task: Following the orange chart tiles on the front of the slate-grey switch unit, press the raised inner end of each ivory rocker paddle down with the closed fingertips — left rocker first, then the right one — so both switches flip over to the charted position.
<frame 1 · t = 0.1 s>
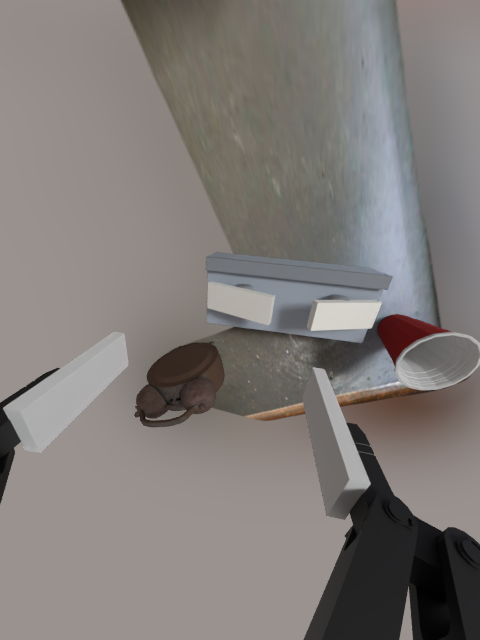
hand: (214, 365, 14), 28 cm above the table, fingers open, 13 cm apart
plastic cup: (392, 328, 40), on the table
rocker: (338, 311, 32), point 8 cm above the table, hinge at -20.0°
switch unit: (285, 291, 40), on the table
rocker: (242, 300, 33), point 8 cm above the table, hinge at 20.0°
alarm clock: (200, 351, 48), on the table
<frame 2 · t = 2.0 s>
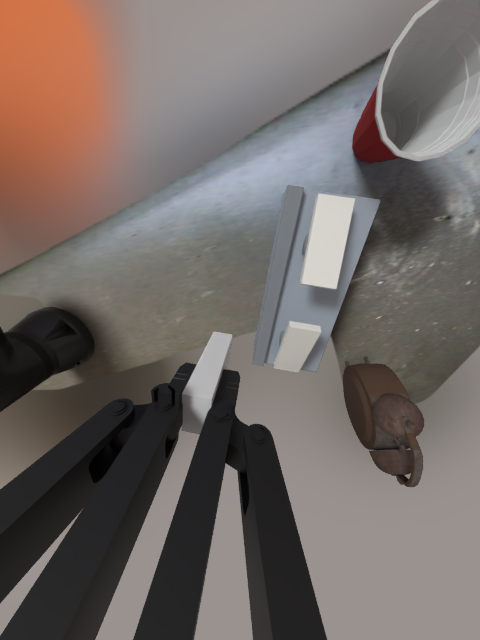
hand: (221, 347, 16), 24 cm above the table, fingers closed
plastic cup: (375, 137, 28), on the table
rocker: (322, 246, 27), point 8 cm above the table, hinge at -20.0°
switch unit: (298, 286, 37), on the table
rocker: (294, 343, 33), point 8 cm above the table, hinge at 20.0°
alarm clock: (356, 373, 44), on the table
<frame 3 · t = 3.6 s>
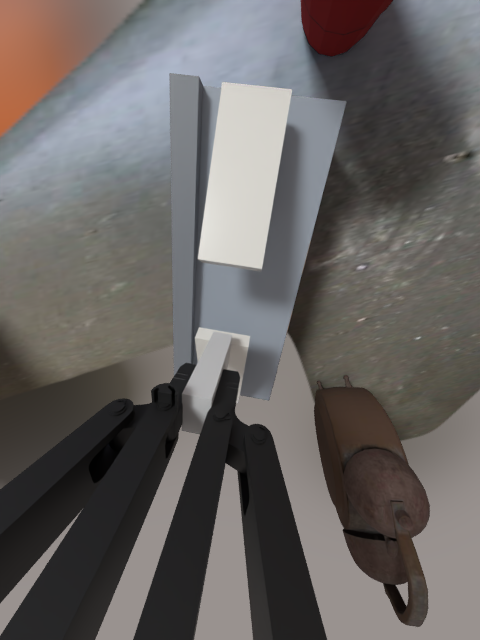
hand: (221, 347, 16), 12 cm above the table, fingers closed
plastic cup: (341, 6, 16), on the table
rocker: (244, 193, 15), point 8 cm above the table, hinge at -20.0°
switch unit: (242, 273, 25), on the table
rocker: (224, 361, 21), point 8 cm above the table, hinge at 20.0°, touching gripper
alarm clock: (334, 396, 32), on the table
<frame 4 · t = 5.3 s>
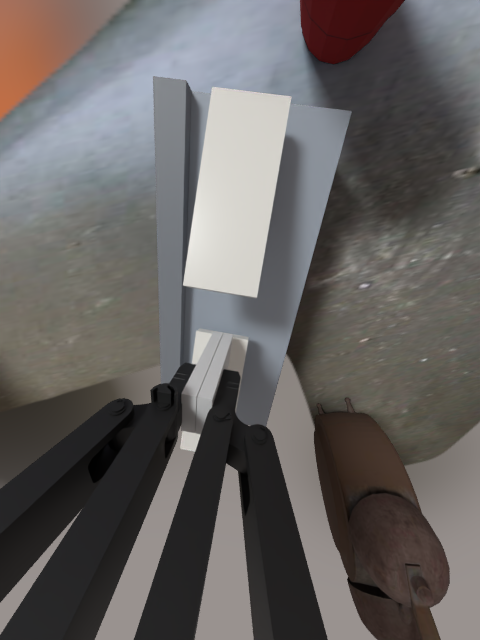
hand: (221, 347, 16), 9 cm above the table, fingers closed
plastic cup: (343, 11, 15), on the table
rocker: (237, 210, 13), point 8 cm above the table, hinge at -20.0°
switch unit: (236, 290, 24), on the table
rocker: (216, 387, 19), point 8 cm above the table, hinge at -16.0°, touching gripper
alarm clock: (334, 419, 30), on the table
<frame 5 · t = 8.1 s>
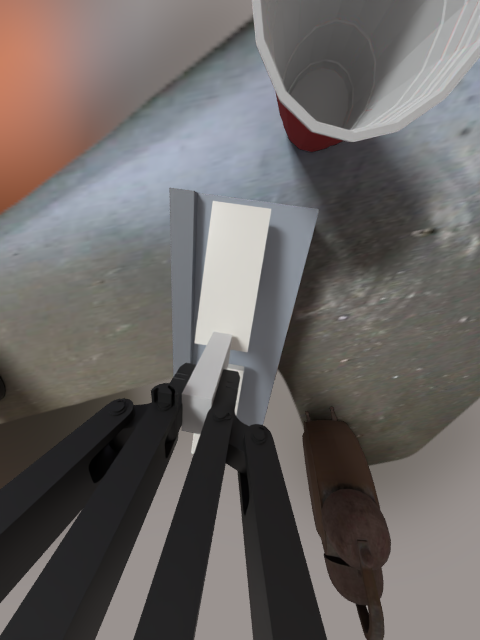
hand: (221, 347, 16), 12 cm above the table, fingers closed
plastic cup: (318, 113, 18), on the table
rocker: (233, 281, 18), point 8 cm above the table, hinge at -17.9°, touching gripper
switch unit: (235, 320, 28), on the table
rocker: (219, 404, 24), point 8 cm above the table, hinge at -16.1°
alarm clock: (321, 424, 35), on the table
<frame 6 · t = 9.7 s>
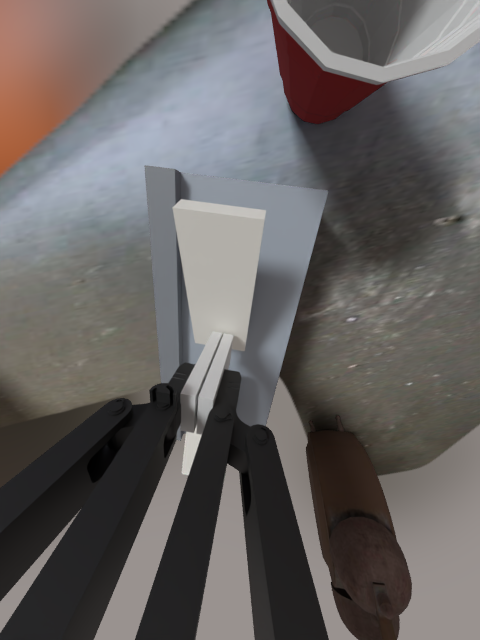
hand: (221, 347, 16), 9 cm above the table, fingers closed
plastic cup: (325, 75, 15), on the table
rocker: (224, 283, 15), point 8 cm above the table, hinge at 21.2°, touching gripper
switch unit: (231, 322, 25), on the table
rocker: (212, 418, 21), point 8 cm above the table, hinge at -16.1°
alarm clock: (326, 433, 32), on the table
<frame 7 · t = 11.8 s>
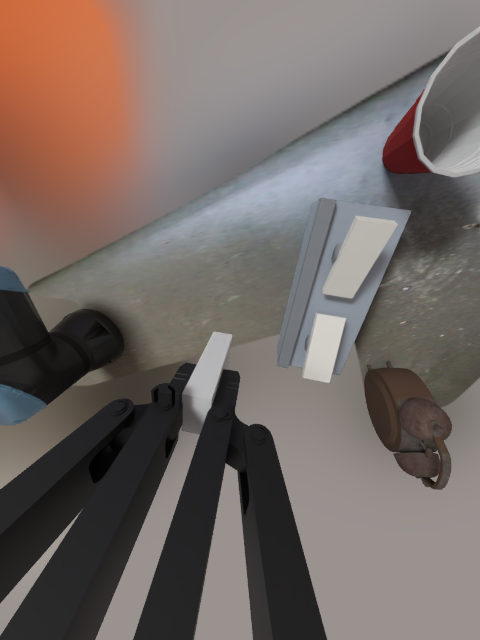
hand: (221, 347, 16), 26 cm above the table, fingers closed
plastic cup: (405, 149, 29), on the table
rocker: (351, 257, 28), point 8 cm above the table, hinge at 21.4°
switch unit: (323, 291, 39), on the table
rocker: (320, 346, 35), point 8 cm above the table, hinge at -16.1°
alarm clock: (377, 377, 45), on the table
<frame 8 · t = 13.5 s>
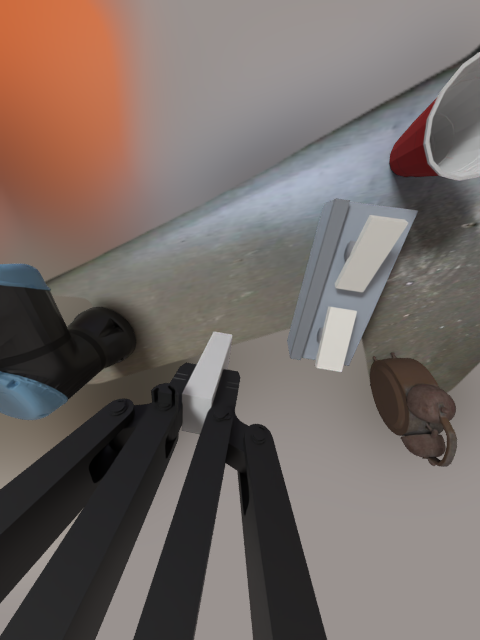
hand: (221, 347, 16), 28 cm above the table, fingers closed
plastic cup: (410, 154, 31), on the table
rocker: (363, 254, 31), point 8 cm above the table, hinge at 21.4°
switch unit: (332, 286, 41), on the table
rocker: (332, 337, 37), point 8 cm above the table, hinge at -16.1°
alarm clock: (382, 368, 47), on the table
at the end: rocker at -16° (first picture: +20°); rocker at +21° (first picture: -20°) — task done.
